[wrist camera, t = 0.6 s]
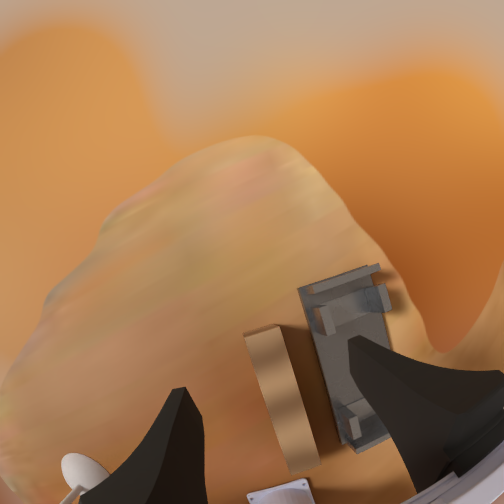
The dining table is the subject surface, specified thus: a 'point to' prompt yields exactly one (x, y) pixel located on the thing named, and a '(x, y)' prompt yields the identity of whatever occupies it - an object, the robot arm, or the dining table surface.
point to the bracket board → (336, 346)
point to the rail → (282, 397)
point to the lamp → (81, 474)
